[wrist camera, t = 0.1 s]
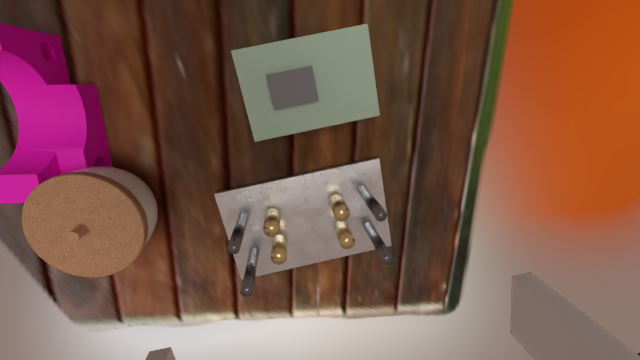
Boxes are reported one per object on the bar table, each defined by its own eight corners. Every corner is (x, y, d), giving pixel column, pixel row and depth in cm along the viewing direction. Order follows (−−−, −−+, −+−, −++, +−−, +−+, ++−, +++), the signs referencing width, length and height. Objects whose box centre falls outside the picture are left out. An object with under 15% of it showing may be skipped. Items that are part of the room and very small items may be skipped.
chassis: (215, 191, 38) (195, 222, 30) (376, 156, 39) (402, 177, 30) (242, 275, 42) (230, 324, 33) (389, 242, 43) (415, 281, 34)
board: (235, 53, 29) (228, 49, 26) (361, 28, 30) (370, 21, 26) (257, 137, 32) (253, 143, 28) (372, 113, 32) (382, 116, 29)
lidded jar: (183, 230, 39) (153, 273, 30) (97, 250, 39) (40, 299, 30) (152, 146, 36) (108, 167, 27) (57, 167, 35) (-20, 195, 26)
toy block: (114, 178, 36) (73, 201, 29) (56, 179, 36) (-1, 203, 29) (86, 36, 32) (29, 23, 25) (19, 35, 32) (-59, 21, 24)
